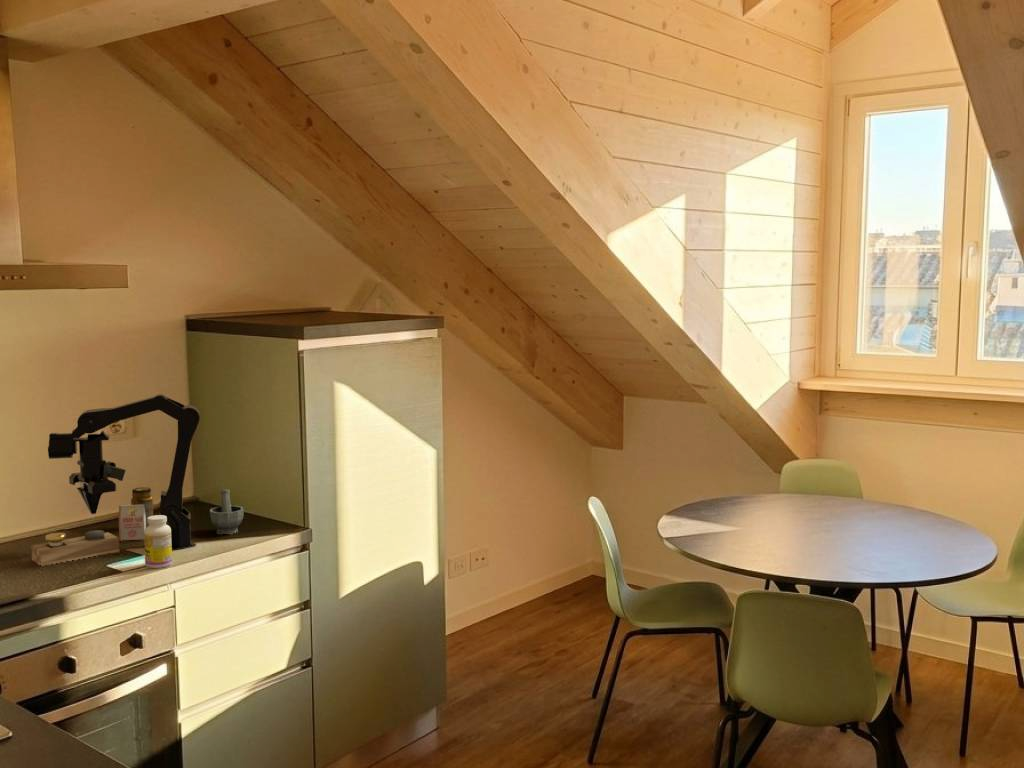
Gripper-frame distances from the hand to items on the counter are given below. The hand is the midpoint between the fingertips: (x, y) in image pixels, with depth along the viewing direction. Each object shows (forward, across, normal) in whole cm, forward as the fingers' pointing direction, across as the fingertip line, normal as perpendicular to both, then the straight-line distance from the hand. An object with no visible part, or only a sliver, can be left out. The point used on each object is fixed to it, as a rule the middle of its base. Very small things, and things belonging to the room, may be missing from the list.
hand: (93, 513), depth 263 cm
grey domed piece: (+9, 0, 0) cm, 9 cm away
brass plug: (+8, 0, +10) cm, 13 cm away
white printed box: (+11, +7, -13) cm, 19 cm away
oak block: (+11, 0, +5) cm, 12 cm away
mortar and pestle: (+11, -3, -37) cm, 39 cm away
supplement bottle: (+11, -23, -8) cm, 27 cm away
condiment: (+11, +17, -20) cm, 29 cm away
